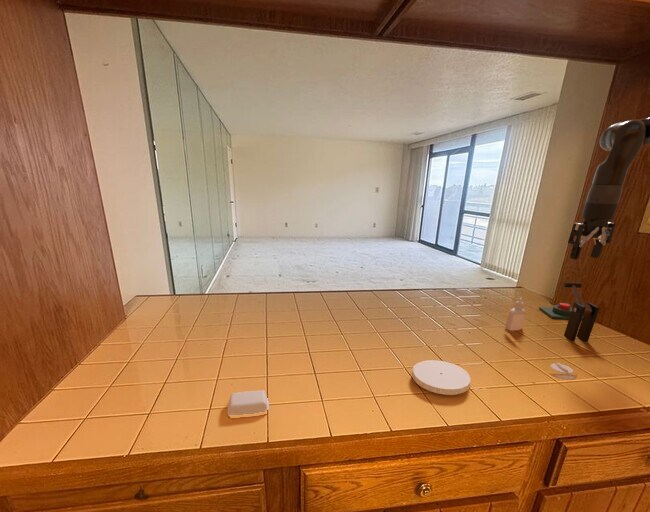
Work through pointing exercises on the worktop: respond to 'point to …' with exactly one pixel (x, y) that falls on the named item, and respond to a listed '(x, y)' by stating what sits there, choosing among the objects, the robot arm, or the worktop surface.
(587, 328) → the bracket
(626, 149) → the robot arm
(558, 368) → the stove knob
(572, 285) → the lever
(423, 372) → the plastic lid
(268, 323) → the worktop surface
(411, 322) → the worktop surface
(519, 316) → the eye dropper bottle
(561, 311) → the button box
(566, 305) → the button
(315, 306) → the worktop surface
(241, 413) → the soap
